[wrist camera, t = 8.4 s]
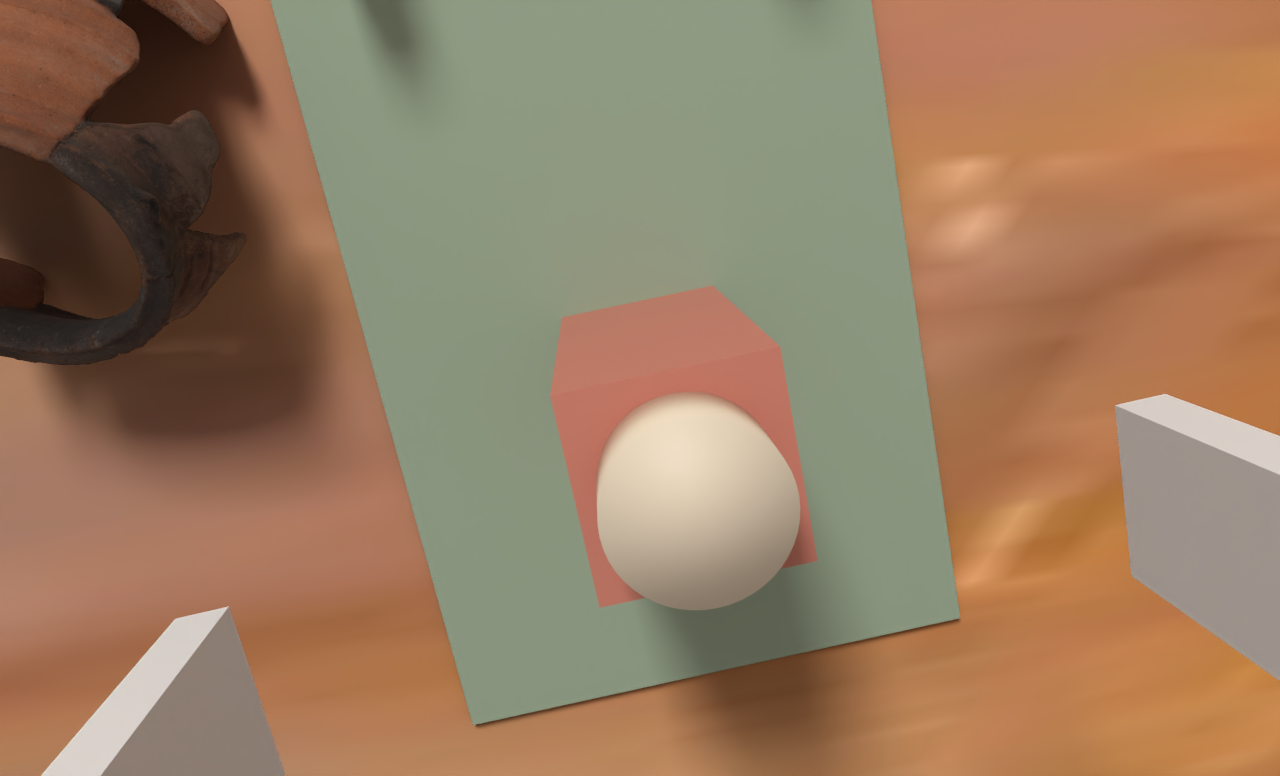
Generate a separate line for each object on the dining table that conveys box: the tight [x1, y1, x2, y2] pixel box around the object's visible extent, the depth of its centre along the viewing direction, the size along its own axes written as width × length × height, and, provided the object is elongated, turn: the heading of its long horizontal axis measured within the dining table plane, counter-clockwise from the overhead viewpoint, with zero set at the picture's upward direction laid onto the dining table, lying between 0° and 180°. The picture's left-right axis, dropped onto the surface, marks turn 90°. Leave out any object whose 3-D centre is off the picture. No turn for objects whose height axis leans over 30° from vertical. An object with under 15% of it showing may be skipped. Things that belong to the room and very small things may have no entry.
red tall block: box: [550, 285, 818, 610], centre depth 23 cm, size 4×4×12 cm
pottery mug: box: [0, 0, 247, 365], centre depth 24 cm, size 12×9×8 cm
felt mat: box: [271, 0, 960, 725], centre depth 27 cm, size 16×34×1 cm, turn 12°
